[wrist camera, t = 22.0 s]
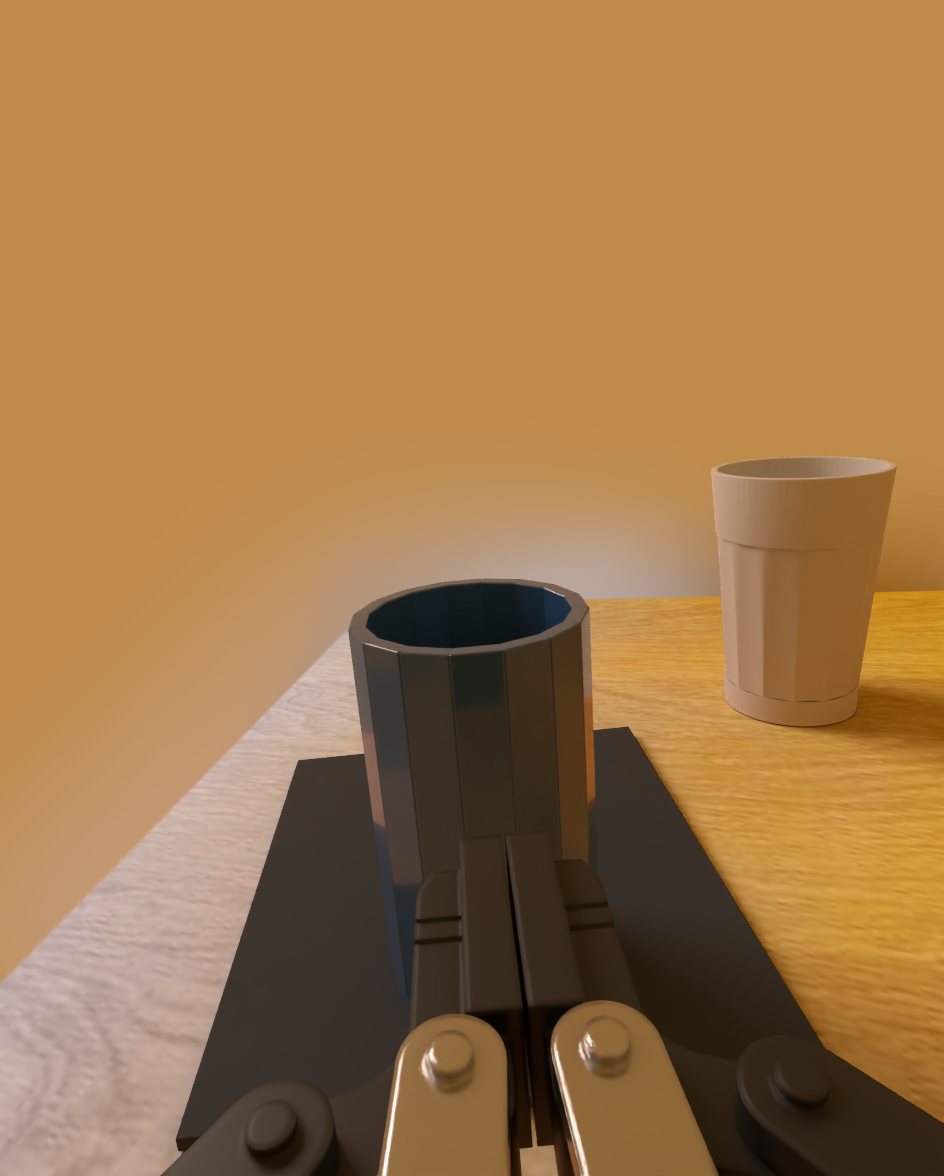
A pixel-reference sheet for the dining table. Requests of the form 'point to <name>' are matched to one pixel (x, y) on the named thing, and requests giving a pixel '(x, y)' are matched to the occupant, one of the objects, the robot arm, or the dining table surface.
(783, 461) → the cup
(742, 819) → the dining table surface
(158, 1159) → the dining table surface
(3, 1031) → the dining table surface
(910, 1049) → the dining table surface
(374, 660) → the tumbler
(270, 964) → the mat
